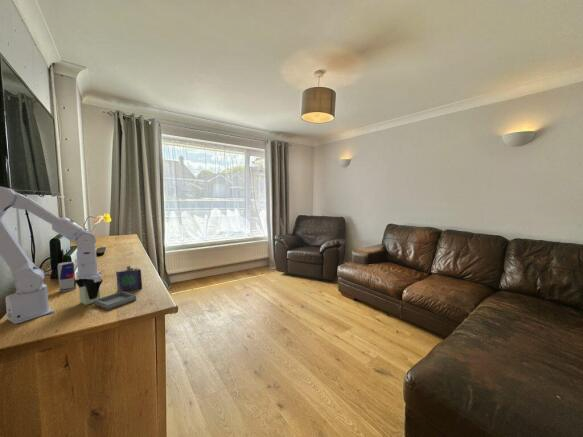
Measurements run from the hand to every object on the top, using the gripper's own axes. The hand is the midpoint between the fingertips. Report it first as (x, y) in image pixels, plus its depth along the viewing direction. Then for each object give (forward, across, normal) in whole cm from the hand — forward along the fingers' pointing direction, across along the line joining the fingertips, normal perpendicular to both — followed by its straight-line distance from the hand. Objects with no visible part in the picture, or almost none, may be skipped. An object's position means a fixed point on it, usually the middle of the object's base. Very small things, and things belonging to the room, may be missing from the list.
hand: (90, 297), depth 92 cm
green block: (+2, 0, 0) cm, 2 cm away
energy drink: (+2, +25, -2) cm, 25 cm away
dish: (+2, -10, -4) cm, 11 cm away
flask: (+2, -1, -14) cm, 14 cm away
